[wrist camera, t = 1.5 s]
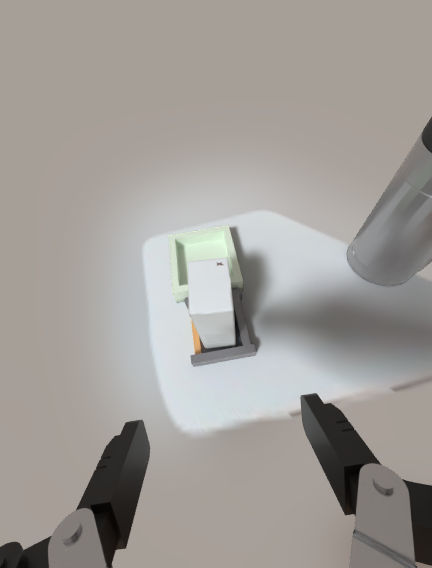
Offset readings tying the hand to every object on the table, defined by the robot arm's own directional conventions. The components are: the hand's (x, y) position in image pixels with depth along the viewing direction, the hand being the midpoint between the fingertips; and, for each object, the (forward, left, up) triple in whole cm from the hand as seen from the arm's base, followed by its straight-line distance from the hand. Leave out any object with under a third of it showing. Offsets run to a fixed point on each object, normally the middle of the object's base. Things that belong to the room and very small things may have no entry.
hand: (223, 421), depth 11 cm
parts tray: (0, -22, -17) cm, 28 cm away
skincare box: (0, -11, -17) cm, 20 cm away
